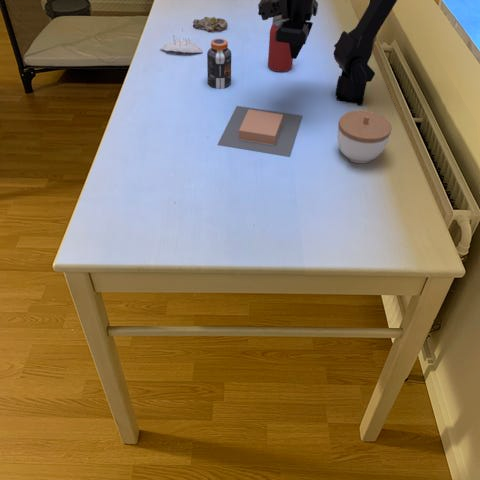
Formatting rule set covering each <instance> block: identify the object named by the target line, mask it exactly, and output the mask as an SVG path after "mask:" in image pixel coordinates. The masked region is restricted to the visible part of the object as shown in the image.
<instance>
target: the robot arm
mask: <svg viewBox="0 0 480 480" xmlns="http://www.w3.org/2000/svg"><path fill="white" fill-rule="evenodd" d="M397 2H398V0H371V1H370V2H369V4H368V6H367V7H366V9H365V11H364V12H363V14H362V15H361V18H360V19H359V22H358V23H357V25H356V26H355V27H354V28H353V29H352V30H350V31H349V32H347V31H345V30H343V31H342V32H341V34H340V37H339V38H338V40H337V42H336V43H335V44H334V45H333V48H334V50H333V59H334V60H335V62H336V63H337V64H338V68H339V69H341V74H340V75H338V77H337V84H336V87H335V97H336V102H337V101H338V102H345V103H349V104H350V103H351V104H355V105H356V104H357V105H358V106H363V104H364V100H365V92H366V87H367V83H369V82H372V81H373V79H374V76H375V75H376V73H375V71H374V70H373V69H372V68H371V66H369V64H368V63H369V61H370V59H371V57H372V54H373V48H374V42H375V38H376V36H377V35H378V33H379V31H380V30H381V28H382V26H383V25H384V23H385V21H386V20H387V18H388V16H389V15H390V13H391V12H392V10H393V8H394V7H395V5H396V4H397ZM257 6H258V13H257V14H258V15H259V16H261V20H262V21H267V20H268V19H273V17H276V16H279V15H281V19H287V18H288V20H286V21H283V22H282V23H281V24H280V25H279V26H278V28H277V30H276V37H275V40H276V41H277V42H283V43H289V47H290V53H291V58H292V59H293V60H296V59H297V57H298V56H299V54H300V52H301V50H302V48H303V46H304V45H306V42H307V40H308V37H309V35H310V33H311V29H312V27H313V24H314V22H312V21H311V20H312V17H316V16H317V14H318V9H319V8H318V7H319V2H317V0H260V1H259V3H258V5H257Z"/></svg>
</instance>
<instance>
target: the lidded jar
mask: <svg viewBox="0 0 480 480" xmlns="http://www.w3.org/2000/svg"><path fill="white" fill-rule="evenodd" d="M392 128H393V127H392V124H391V122H390V121H389V120H388V119H387V118H386V117H385V116H383V115H381V114H379V113H376V112H373V111H370V110H352V111H348V112H345V113H344V114H342V115H341V116H340V118H339V120H338V127H337V135H336V137H337V145H338V148H339V150H340V152H341V153H342V154H343V155H344V156H345V157H346V158H347V160H348V161H350V162H352V163H356V164H367V163H369V162H371V161H372V160H374V159H376V158H377V157H378V156H380V155H381V154H382V152H383V151H384V149H385V148H386V147H387V144H388V142H389V141H388V140H389V138H390V135H391V133H392Z"/></svg>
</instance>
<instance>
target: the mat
mask: <svg viewBox="0 0 480 480" xmlns="http://www.w3.org/2000/svg"><path fill="white" fill-rule="evenodd" d="M249 109H250V110H256V111H263V112H269V113H276V114H282V115H283V121H282V126H281V129H280V131H279V134H278V137H277V140H276V143H275V145H268V144H262V143H256V142H249V141H243V140H239V129H240V127H241V125H242V123H243V121H244V118H245V116H246V114H247V112H248V110H249ZM302 119H303V115H300V114H294V113H288V112H281V111H274V110H268V109H262V108H261V109H260V108H254V107H247V106H243V105H236V106H235V108H234V110H233V113H232V115H231V117H230V118H229V121H228V122H227V124H226V126H225V129H224V131H223V132H222V134H221V137H220V138H219V140H218V142H217V146H221V147H225V148H233V149H240V150H245V151H249V152H250V151H251V152H256V153H263V154H269V155H275V156H280V157H281V156H282V157H286V158H287V157H288V158H291V155H292V153H293V152H292V151H293V149H294V145H295V142H296V139H297V136H298V132H299V129H300V126H301V123H302Z"/></svg>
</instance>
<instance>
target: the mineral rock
mask: <svg viewBox="0 0 480 480" xmlns="http://www.w3.org/2000/svg"><path fill="white" fill-rule="evenodd" d="M192 24H193V25H192V27H193V28H195V29H196V30H198V31H206V32H207V33H210V34H211V33H212V34H214V33H220V32H222V31H225V30H226V29H227V28H228V21H227V20H225V18H221V17H220V18H218V17H217V18H216V17H215V16H211V17H208V16H204V17H203V18H201V19H198V18H197V19H194V20H193V21H192Z"/></svg>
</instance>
